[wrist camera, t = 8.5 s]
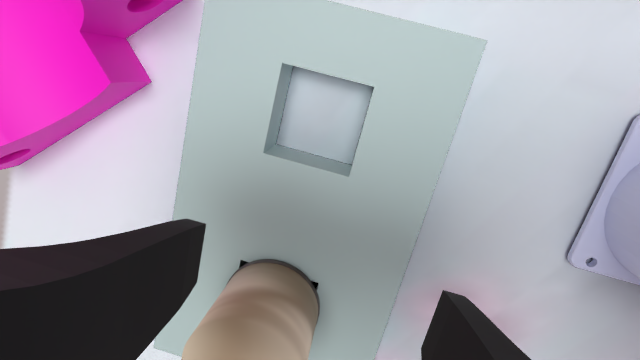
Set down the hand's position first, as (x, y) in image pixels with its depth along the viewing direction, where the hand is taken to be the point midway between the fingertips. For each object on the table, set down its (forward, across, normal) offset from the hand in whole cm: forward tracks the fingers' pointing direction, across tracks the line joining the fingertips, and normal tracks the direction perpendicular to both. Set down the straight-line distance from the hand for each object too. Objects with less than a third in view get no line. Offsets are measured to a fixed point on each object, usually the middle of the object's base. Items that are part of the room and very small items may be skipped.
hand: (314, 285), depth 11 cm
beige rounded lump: (+10, +2, +6) cm, 12 cm away
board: (+10, +2, +1) cm, 10 cm away
